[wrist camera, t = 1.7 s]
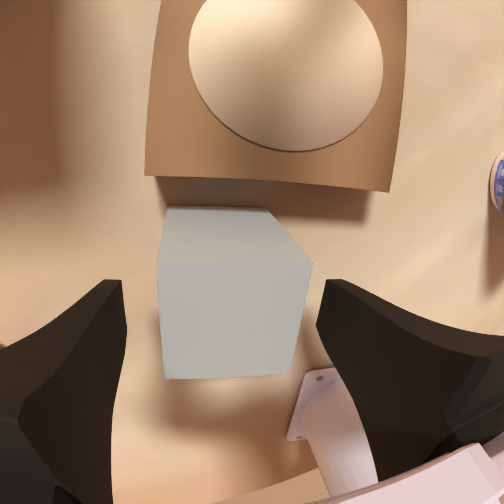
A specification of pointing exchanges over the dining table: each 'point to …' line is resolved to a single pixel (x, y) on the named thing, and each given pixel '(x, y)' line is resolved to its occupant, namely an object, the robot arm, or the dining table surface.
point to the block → (228, 293)
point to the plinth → (278, 90)
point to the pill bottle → (498, 182)
